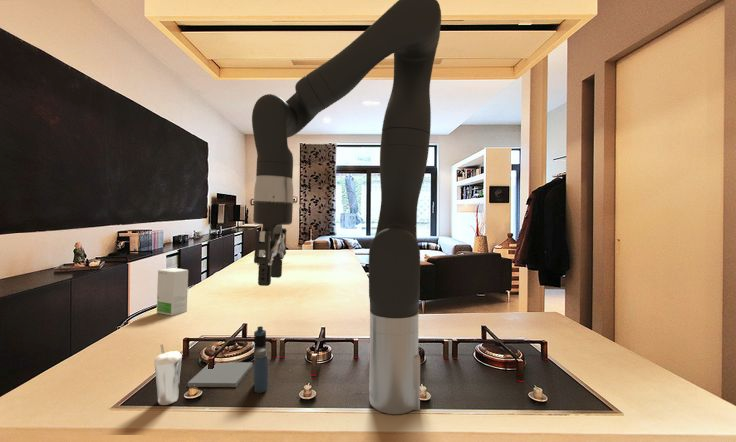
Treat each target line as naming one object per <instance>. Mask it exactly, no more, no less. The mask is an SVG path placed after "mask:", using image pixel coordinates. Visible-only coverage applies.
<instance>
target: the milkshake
mask: <svg viewBox="0 0 736 442" xmlns="http://www.w3.org/2000/svg"><path fill="white" fill-rule="evenodd" d="M160 350H161V351H160V352H161V353H160V354H159V355H157V356H156V357H155V358H154V361H153V365H154V371H155V372H154V373H155V381H156V394H157V402H158V404H159V406H168V405H171V404H175V402H177V401H178V399H179V391H180V381H181V380H180V378H181V368H182V358H183V355H182V354H181V352H180V351H178V350H174V351H167V352H165V348H164V344H163V343H162V344H160Z"/></svg>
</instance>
